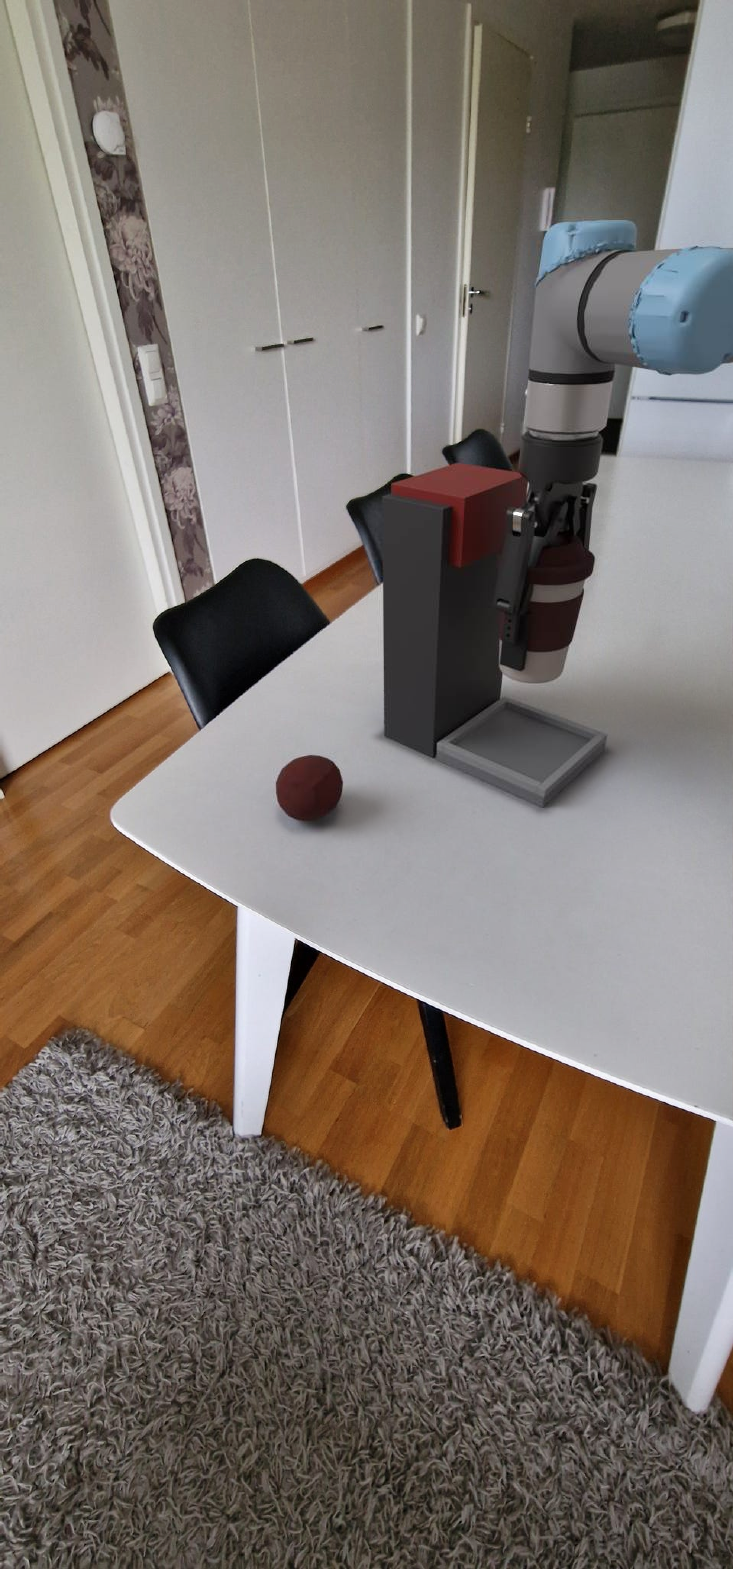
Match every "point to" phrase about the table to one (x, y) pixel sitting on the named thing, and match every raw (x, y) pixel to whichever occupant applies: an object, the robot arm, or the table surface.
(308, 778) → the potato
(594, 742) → the coffee machine
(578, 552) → the coffee cup
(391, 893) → the table surface
